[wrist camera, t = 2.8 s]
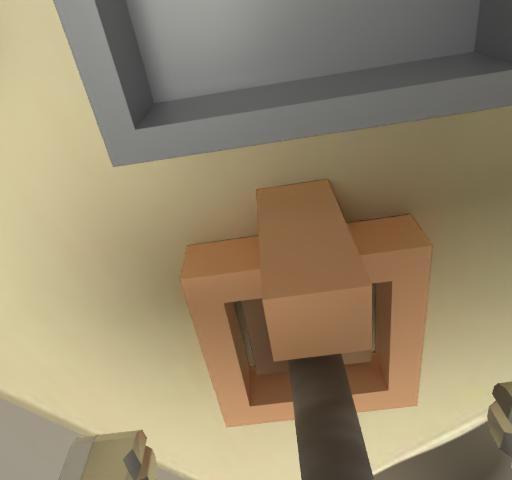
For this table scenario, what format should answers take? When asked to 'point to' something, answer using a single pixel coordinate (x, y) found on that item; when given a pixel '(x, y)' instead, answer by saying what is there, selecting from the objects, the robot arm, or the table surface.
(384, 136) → the table surface
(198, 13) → the tray
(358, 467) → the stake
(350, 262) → the ring
